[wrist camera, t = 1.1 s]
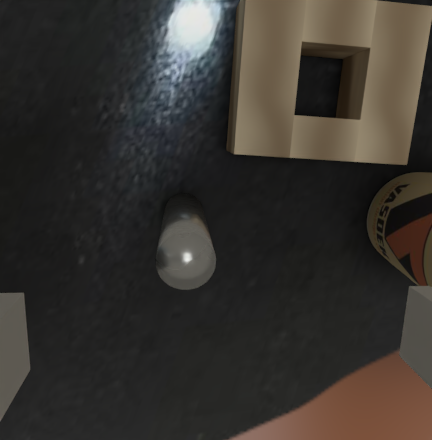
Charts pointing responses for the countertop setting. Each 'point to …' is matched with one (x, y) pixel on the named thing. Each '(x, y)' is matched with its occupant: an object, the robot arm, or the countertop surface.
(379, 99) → the hole block
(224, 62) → the countertop surface
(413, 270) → the coffee cup
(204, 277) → the peg
